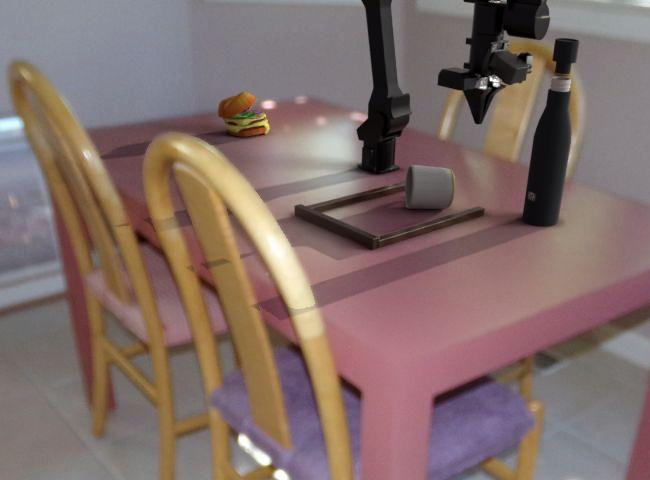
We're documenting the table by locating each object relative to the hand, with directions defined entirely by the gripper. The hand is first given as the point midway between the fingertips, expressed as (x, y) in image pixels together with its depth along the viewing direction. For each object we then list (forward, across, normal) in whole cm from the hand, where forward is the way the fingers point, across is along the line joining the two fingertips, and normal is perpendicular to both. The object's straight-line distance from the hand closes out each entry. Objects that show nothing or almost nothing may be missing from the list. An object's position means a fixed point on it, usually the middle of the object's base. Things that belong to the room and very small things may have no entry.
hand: (478, 123), depth 148 cm
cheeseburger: (+13, -10, +61) cm, 63 cm away
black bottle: (+13, -2, -18) cm, 22 cm away
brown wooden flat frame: (+13, -22, 0) cm, 25 cm away
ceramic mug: (+13, -13, 0) cm, 19 cm away
